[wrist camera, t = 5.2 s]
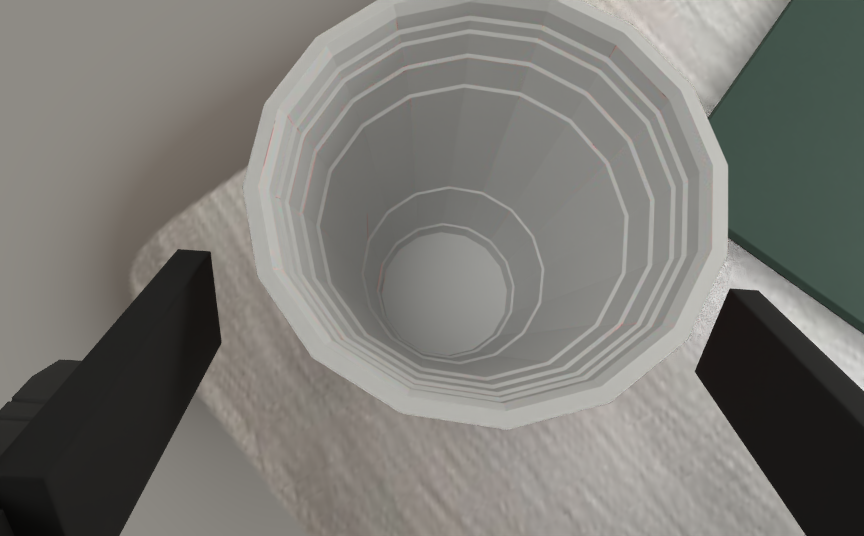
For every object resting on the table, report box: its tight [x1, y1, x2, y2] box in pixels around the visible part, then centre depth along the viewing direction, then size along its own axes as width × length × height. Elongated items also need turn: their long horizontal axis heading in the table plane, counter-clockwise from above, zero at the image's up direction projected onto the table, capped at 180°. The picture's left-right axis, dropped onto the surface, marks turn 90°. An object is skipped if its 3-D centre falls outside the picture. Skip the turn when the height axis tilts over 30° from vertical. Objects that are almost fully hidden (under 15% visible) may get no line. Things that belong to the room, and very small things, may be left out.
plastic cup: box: [243, 0, 728, 430], centre depth 17 cm, size 11×11×12 cm
